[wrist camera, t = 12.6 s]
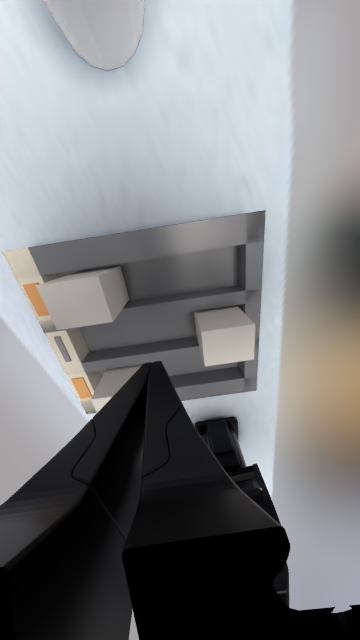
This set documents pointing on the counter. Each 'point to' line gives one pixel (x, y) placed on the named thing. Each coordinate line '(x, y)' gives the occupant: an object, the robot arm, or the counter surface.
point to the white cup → (100, 28)
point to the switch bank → (155, 300)
